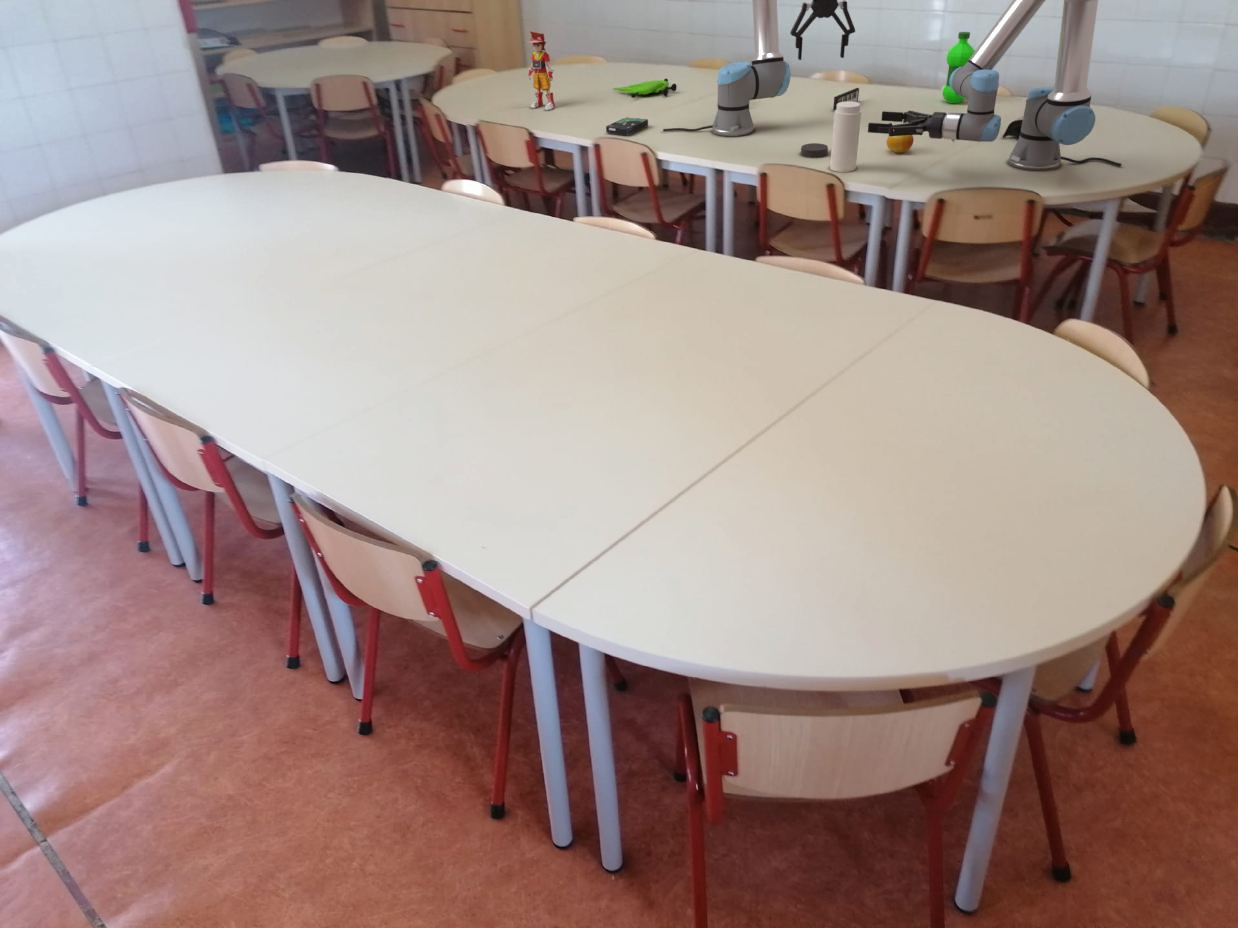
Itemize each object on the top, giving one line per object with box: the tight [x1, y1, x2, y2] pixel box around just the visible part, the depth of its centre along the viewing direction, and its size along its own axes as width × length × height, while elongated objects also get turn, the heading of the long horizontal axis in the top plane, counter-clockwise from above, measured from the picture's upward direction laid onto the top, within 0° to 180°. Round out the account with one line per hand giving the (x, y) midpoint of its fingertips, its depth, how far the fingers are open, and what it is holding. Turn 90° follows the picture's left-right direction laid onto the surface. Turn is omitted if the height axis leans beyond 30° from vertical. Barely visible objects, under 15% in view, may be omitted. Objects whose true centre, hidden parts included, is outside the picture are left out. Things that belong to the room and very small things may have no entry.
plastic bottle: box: [942, 31, 976, 104], centre depth 348 cm, size 10×10×25 cm
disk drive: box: [605, 116, 649, 136], centre depth 345 cm, size 10×3×15 cm
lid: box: [800, 142, 829, 159], centre depth 307 cm, size 9×9×2 cm
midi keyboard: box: [832, 87, 860, 111], centre depth 357 cm, size 18×1×5 cm, turn 138°
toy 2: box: [612, 78, 677, 99], centre depth 396 cm, size 28×5×30 cm
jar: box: [829, 101, 862, 173], centre depth 288 cm, size 8×8×20 cm
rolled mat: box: [1002, 115, 1024, 140], centre depth 316 cm, size 30×9×10 cm
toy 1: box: [527, 31, 556, 111], centre depth 374 cm, size 12×9×30 cm
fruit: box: [886, 135, 915, 153], centre depth 303 cm, size 8×8×8 cm
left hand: (820, 58), depth 291 cm, fingers open, 13 cm apart
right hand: (875, 121), depth 280 cm, fingers open, 13 cm apart
